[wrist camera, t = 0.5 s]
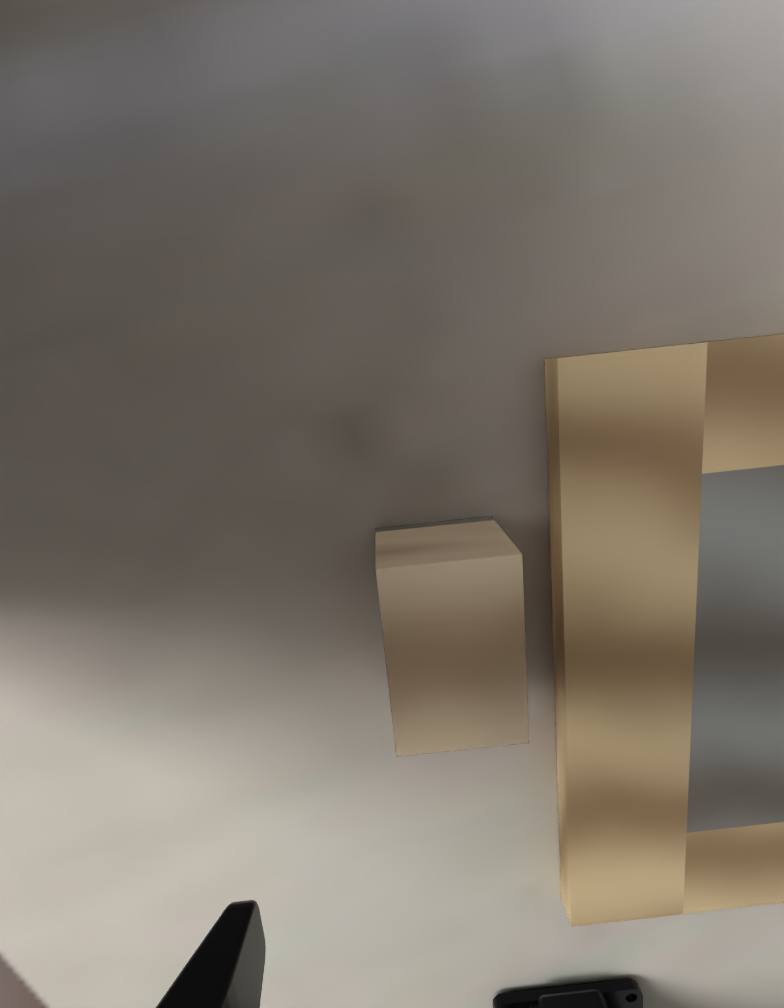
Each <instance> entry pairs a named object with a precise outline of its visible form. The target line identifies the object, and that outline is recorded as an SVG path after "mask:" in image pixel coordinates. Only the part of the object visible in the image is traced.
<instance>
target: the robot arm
mask: <svg viewBox="0 0 784 1008" xmlns="http://www.w3.org/2000/svg"><path fill="white" fill-rule="evenodd" d="M264 964H265V937H264V932H263V927H262V921H261V916H260V911H259V906H258V904H257V902H256V901H254V900H249V901H239V902H233V903H231V904H229V905H228V906H227V907H226V909H225V910H224V912H223V913H222V914H221V916H220V917H219V919H218V920H217V922H216V923H215V924H214V926H213V927H212V929H211V930H210V931H209V933H208V934H207V936H206V937H205V939H204V940H203V941H202V943H201V944H200V946H199V947H198V949H197V950H196V951H195V953H194V954H193V956H192V957H191V958H190V960H189V961H188V963H187V964H186V966H185V967H184V968H183V970H182V971H181V973H180V974H179V976H178V977H177V978H176V980H175V981H174V983H173V984H172V985H171V987H170V988H169V990H168V991H167V993H166V994H165V995H164V997H163V998H162V1000H161V1001H160V1003H159V1004H158V1005H157V1007H156V1008H259V1007H260V999H261V990H262V981H263V973H264ZM493 1008H643V996H642V992H641V990H640V988H639V985H638V983H637V982H636V981H635V980H632V979H623V980H614V981H605V982H597V983H588V984H579V985H571V986H562V987H553V988H544V989H536V990H527V991H518V992H510V993H502V994H499V995H497V996H496V997H495V998H494V999H493Z"/></svg>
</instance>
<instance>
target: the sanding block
mask: <svg viewBox="0 0 784 1008" xmlns="http://www.w3.org/2000/svg"><path fill="white" fill-rule="evenodd" d="M375 570H376V579H377V588H378V597H379V605H380V614H381V623H382V632H383V641H384V650H385V659H386V668H387V677H388V686H389V694H390V703H391V712H392V721H393V730H394V739H395V748H396V757H399V756H409V755H418V754H428V753H437V752H447V751H456V750H466V749H476V748H485V747H495V746H504V745H514V744H523V743H529V717H528V691H527V665H526V639H525V613H524V587H523V561H522V553H521V552H520V551H519V549H518V548H517V547H516V546H515V545H514V543H513V542H512V541H511V540H510V538H509V537H508V536H507V535H506V533H505V532H504V531H503V530H502V529H501V527H500V526H499V525H498V524H497V522H496V521H495V520H494V519H493V517H492V516H488V517H479V518H469V519H459V520H450V521H440V522H430V523H420V524H411V525H401V526H391V527H382V528H376V534H375Z"/></svg>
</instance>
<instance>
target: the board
mask: <svg viewBox="0 0 784 1008" xmlns="http://www.w3.org/2000/svg"><path fill="white" fill-rule="evenodd" d="M545 388H546V420H547V453H548V486H549V518H550V551H551V584H552V616H553V649H554V682H555V714H556V747H557V780H558V812H559V845H560V878H561V899H562V901H563V904H564V907H565V910H566V913H567V915H568V918H569V921H570V924H571V927H573V926H582V925H591V924H600V923H609V922H617V921H626V920H635V919H644V918H652V917H661V916H670V915H679V914H687V913H696V912H705V911H714V910H723V909H731V908H740V907H749V906H758V905H766V904H775V903H784V334H777V335H768V336H758V337H749V338H740V339H730V340H721V341H711V342H702V343H693V344H683V345H674V346H665V347H655V348H646V349H637V350H627V351H618V352H608V353H599V354H590V355H580V356H571V357H562V358H552V359H545Z"/></svg>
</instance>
